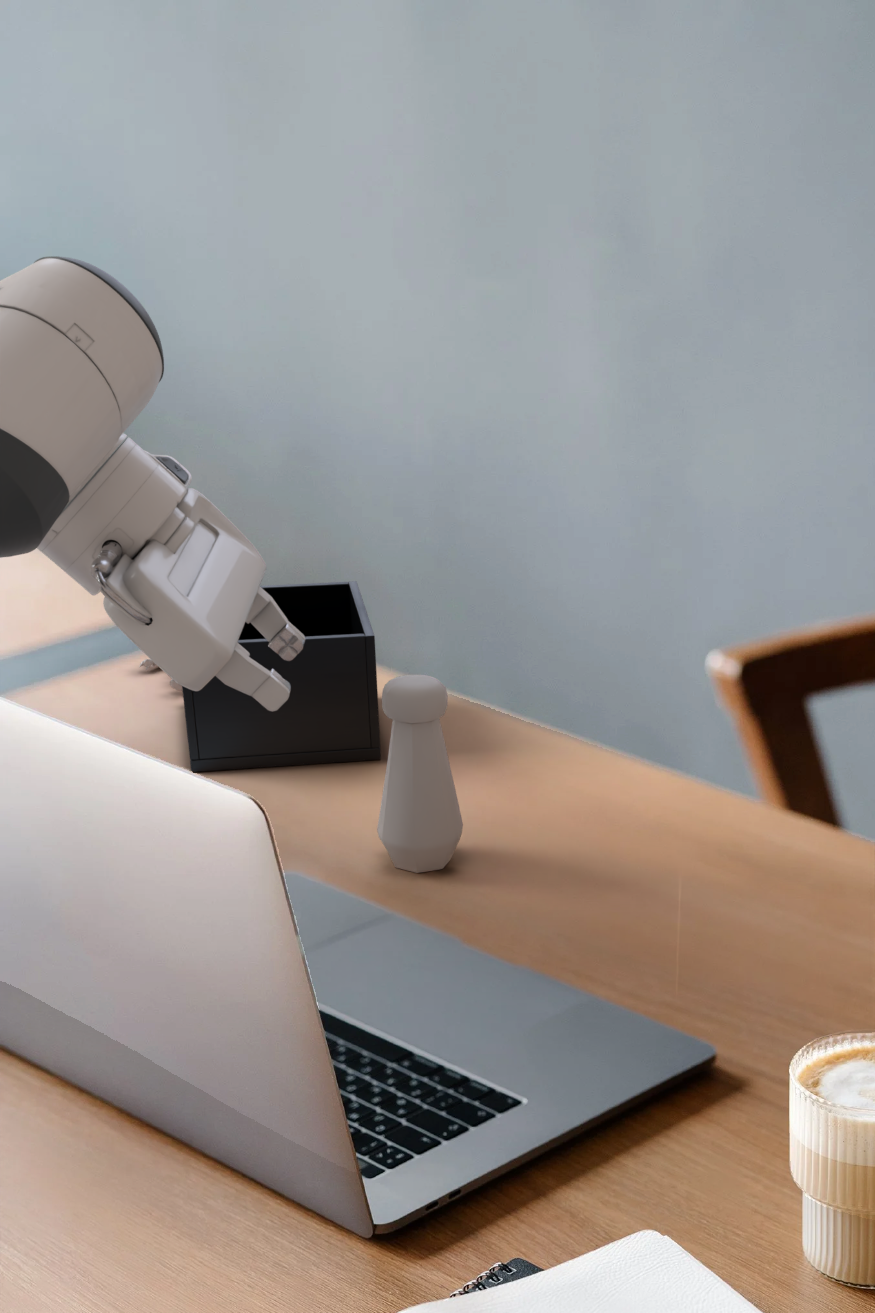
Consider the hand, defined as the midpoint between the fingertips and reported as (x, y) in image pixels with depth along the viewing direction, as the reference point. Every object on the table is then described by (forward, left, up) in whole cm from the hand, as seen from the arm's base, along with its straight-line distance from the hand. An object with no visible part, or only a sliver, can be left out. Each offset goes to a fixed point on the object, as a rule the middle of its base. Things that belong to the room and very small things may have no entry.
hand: (291, 675), depth 116 cm
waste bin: (0, +26, -14) cm, 29 cm away
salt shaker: (+8, 0, -14) cm, 16 cm away
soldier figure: (-7, +42, -14) cm, 45 cm away
